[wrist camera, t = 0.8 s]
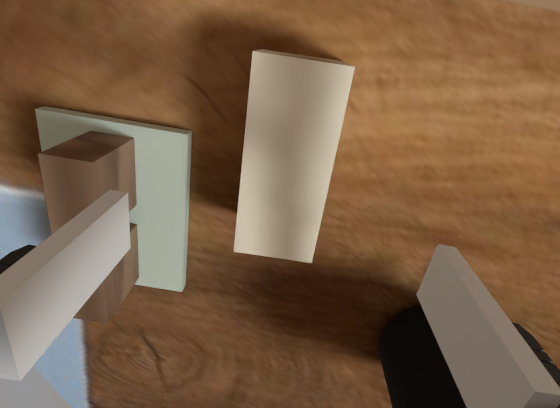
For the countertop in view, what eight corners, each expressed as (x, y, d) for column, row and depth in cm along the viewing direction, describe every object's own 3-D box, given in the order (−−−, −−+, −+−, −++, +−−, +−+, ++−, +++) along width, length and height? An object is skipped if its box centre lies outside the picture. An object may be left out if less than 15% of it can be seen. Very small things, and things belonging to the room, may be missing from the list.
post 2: (103, 271, 33) (65, 316, 28) (98, 218, 30) (54, 256, 25) (139, 277, 33) (107, 323, 28) (137, 224, 30) (102, 264, 25)
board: (68, 265, 34) (61, 272, 33) (45, 106, 27) (34, 108, 26) (185, 284, 35) (181, 291, 34) (192, 130, 28) (187, 134, 27)
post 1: (96, 198, 30) (51, 233, 24) (90, 130, 27) (37, 153, 22) (136, 204, 30) (100, 241, 24) (134, 137, 27) (92, 162, 22)
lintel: (245, 214, 31) (233, 251, 26) (262, 48, 25) (252, 50, 20) (309, 224, 31) (311, 263, 26) (343, 61, 25) (354, 66, 20)
